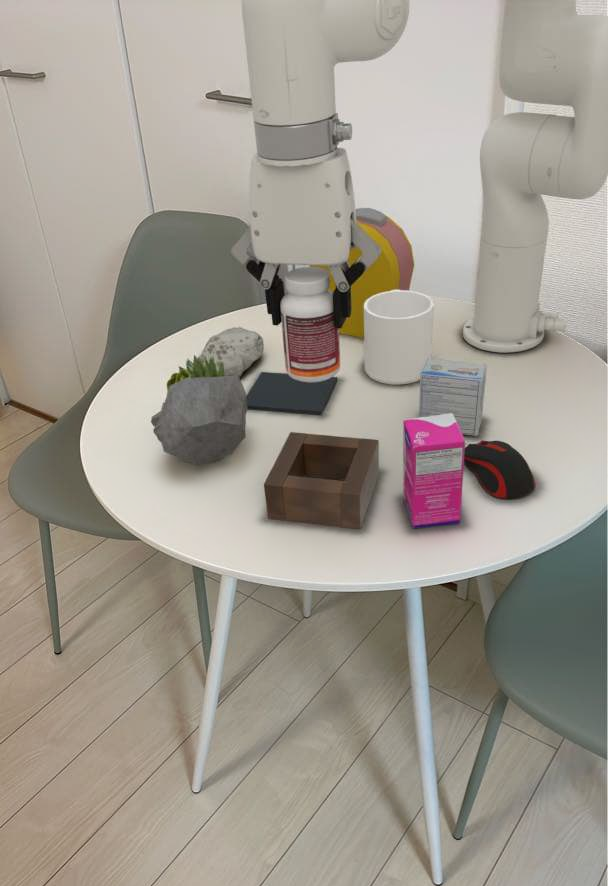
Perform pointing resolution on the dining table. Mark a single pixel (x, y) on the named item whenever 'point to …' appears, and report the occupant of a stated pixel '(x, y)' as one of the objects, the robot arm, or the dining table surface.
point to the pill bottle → (309, 326)
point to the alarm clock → (377, 266)
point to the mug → (397, 335)
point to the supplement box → (433, 470)
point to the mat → (289, 394)
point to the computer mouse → (499, 469)
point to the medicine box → (454, 392)
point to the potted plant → (202, 413)
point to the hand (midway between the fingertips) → (309, 319)
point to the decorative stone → (234, 350)
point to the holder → (323, 480)
